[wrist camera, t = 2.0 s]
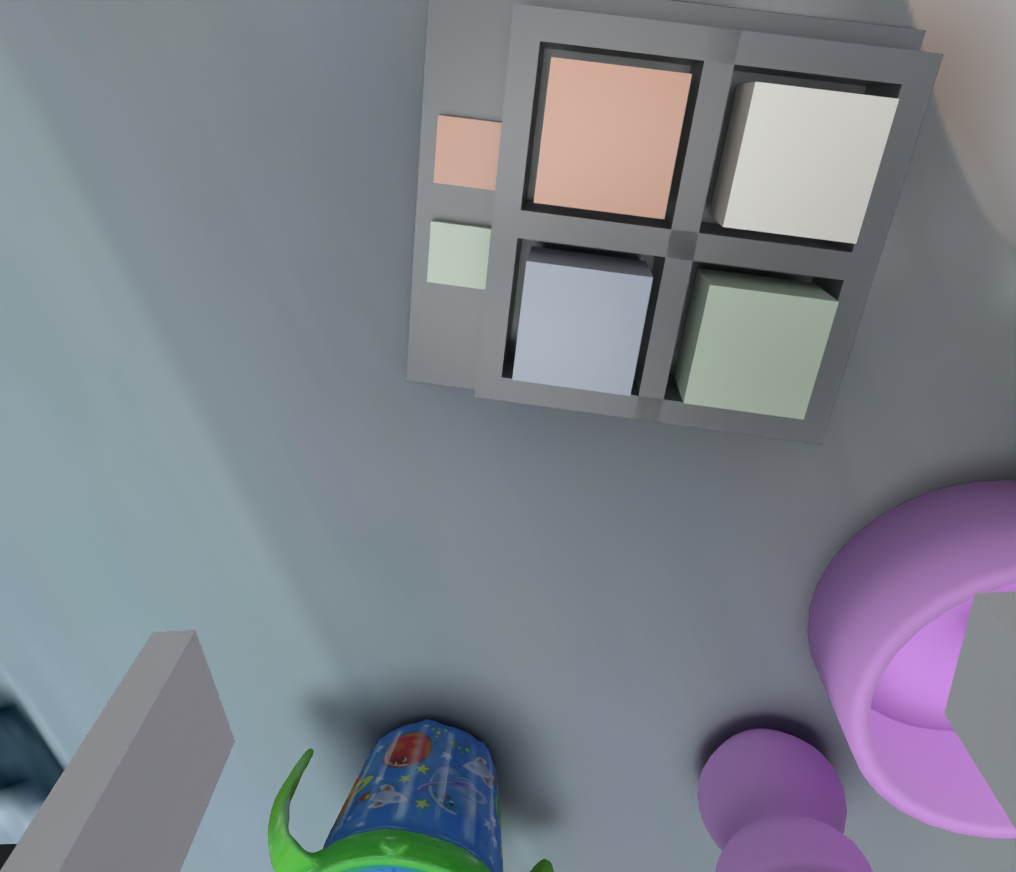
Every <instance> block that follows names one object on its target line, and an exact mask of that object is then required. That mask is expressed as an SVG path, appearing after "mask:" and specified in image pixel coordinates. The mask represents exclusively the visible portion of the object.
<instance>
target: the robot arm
mask: <svg viewBox="0 0 1016 872" xmlns="http://www.w3.org/2000/svg"><path fill="white" fill-rule="evenodd" d="M944 715H945V716H946V718H947V719H948V721H949V723H950V724H951V726H952V728H953V729H954V731H955V732H956V734H957V736H958V737H959V739H960V740H961V742H962V744H963V745H964V747H965V749H966V750H967V752H968V753H969V755H970V757H971V758H972V760H973V761H974V763H975V765H976V766H977V768H978V770H979V771H980V773H981V774H982V776H983V778H984V779H985V781H986V782H987V784H988V786H989V787H990V789H991V791H992V792H993V794H994V795H995V797H996V799H997V800H998V802H999V803H1000V805H1001V807H1002V808H1003V810H1004V812H1005V813H1006V815H1007V816H1008V818H1009V820H1010V821H1011V823H1012V824H1013V826H1014V828H1015V829H1016V591H1011V592H990V593H975V595H974V599H973V603H972V607H971V610H970V614H969V618H968V622H967V626H966V630H965V634H964V638H963V642H962V646H961V650H960V653H959V657H958V661H957V665H956V669H955V673H954V677H953V681H952V685H951V689H950V692H949V696H948V700H947V704H946V708H945V712H944ZM234 742H235V740H234V737H233V734H232V731H231V729H230V726H229V723H228V720H227V717H226V715H225V712H224V709H223V706H222V703H221V701H220V698H219V695H218V692H217V689H216V686H215V684H214V681H213V678H212V675H211V672H210V670H209V667H208V664H207V661H206V658H205V656H204V653H203V650H202V647H201V644H200V642H199V639H198V636H197V633H196V630H189V631H167V632H153V633H152V634H151V636H150V637H149V639H148V641H147V642H146V644H145V645H144V647H143V648H142V650H141V651H140V653H139V655H138V656H137V658H136V659H135V661H134V662H133V664H132V666H131V667H130V669H129V670H128V672H127V673H126V675H125V676H124V678H123V680H122V681H121V683H120V684H119V686H118V687H117V689H116V691H115V692H114V694H113V695H112V697H111V698H110V700H109V701H108V703H107V705H106V706H105V708H104V709H103V711H102V712H101V714H100V716H99V717H98V719H97V720H96V722H95V723H94V725H93V726H92V728H91V730H90V731H89V733H88V734H87V736H86V737H85V739H84V741H83V742H82V744H81V745H80V747H79V748H78V750H77V751H76V753H75V755H74V756H73V758H72V759H71V761H70V762H69V764H68V766H67V767H66V769H65V770H64V772H63V773H62V775H61V776H60V778H59V780H58V781H57V783H56V784H55V786H54V787H53V789H52V791H51V792H50V794H49V795H48V797H47V798H46V800H45V801H44V803H43V805H42V806H41V808H40V809H39V811H38V812H37V814H36V816H35V817H34V819H33V820H32V822H31V823H30V825H29V826H28V828H27V830H26V831H25V833H24V834H23V836H22V837H21V839H20V840H19V842H18V844H0V872H180V870H181V867H182V865H183V862H184V860H185V858H186V855H187V853H188V851H189V848H190V846H191V844H192V841H193V839H194V836H195V834H196V832H197V829H198V827H199V825H200V822H201V820H202V817H203V815H204V813H205V810H206V808H207V806H208V803H209V801H210V799H211V796H212V794H213V791H214V789H215V787H216V784H217V782H218V780H219V777H220V775H221V773H222V770H223V768H224V765H225V763H226V761H227V758H228V756H229V754H230V751H231V749H232V747H233V744H234Z"/></svg>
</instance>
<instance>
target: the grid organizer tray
mask: <svg viewBox="0 0 1016 872" xmlns="http://www.w3.org/2000/svg"><path fill="white" fill-rule="evenodd" d="M924 35H925V30H918V29H910V28H901V27H893V26H884V25H875V24H867V23H858V22H850V21H841V20H833V19H824V18H816V17H807V16H798V15H790V14H781V13H773V12H764V11H756V10H747V9H739V8H730V7H722V6H713V5H704V4H696V3H687V2H679V1H670V0H428V17H427V34H426V51H425V68H424V85H423V102H422V119H421V136H420V153H419V170H418V187H417V204H416V220H415V237H414V254H413V271H412V288H411V305H410V322H409V339H408V356H407V373H406V380H407V381H414V382H421V383H429V384H436V385H443V386H451V387H458V388H465V389H472V390H475V397H477V398H485V399H492V400H499V401H507V402H514V403H521V404H528V405H536V406H543V407H550V408H557V409H565V410H572V411H579V412H586V413H594V414H601V415H608V416H615V417H623V418H630V419H637V420H645V421H652V422H659V423H666V424H674V425H681V426H688V427H695V428H703V429H710V430H717V431H724V432H732V433H739V434H746V435H754V436H761V437H768V438H775V439H783V440H790V441H797V442H804V443H812V444H819V445H821V444H822V441H823V437H824V434H825V431H826V428H827V425H828V421H829V418H830V415H831V412H832V409H833V405H834V402H835V399H836V396H837V393H838V389H839V386H840V383H841V380H842V377H843V374H844V370H845V367H846V364H847V361H848V358H849V354H850V351H851V348H852V345H853V342H854V338H855V335H856V332H857V329H858V326H859V322H860V319H861V316H862V313H863V310H864V306H865V303H866V300H867V297H868V294H869V290H870V287H871V284H872V281H873V278H874V275H875V271H876V268H877V265H878V262H879V259H880V255H881V252H882V249H883V246H884V243H885V239H886V236H887V233H888V230H889V227H890V223H891V220H892V217H893V214H894V211H895V207H896V204H897V201H898V198H899V195H900V191H901V188H902V185H903V182H904V179H905V176H906V172H907V169H908V166H909V163H910V160H911V156H912V153H913V150H914V147H915V144H916V140H917V137H918V134H919V131H920V128H921V124H922V121H923V118H924V115H925V112H926V108H927V105H928V102H929V99H930V96H931V92H932V89H933V86H934V83H935V80H936V76H937V73H938V70H939V67H940V64H941V61H942V57H943V54H938V53H929V52H921V51H920V48H921V45H922V41H923V38H924ZM551 57H556V58H564V59H572V60H581V61H589V62H597V63H606V64H614V65H622V66H630V67H639V68H647V69H655V70H664V71H672V72H680V73H689V74H692V77H691V83H690V88H689V93H688V98H687V104H686V109H685V114H684V119H683V124H682V130H681V135H680V140H679V145H678V150H677V156H676V161H675V166H674V171H673V177H672V182H671V187H670V192H669V197H668V203H667V208H666V213H665V218H664V219H657V218H649V217H641V216H634V215H626V214H618V213H610V212H602V211H594V210H587V209H579V208H571V207H563V206H555V205H547V204H540V203H534V195H535V186H536V178H537V170H538V162H539V153H540V145H541V137H542V128H543V120H544V112H545V104H546V95H547V87H548V79H549V71H550V62H551ZM748 82H763V83H772V84H780V85H788V86H797V87H805V88H813V89H822V90H830V91H838V92H846V93H855V94H863V95H871V96H880V97H888V98H896V99H899V102H898V105H897V108H896V112H895V115H894V119H893V122H892V125H891V129H890V132H889V135H888V139H887V142H886V145H885V149H884V152H883V155H882V159H881V162H880V166H879V169H878V172H877V176H876V179H875V182H874V186H873V189H872V192H871V196H870V199H869V202H868V206H867V209H866V212H865V216H864V219H863V223H862V226H861V229H860V233H859V236H858V239H857V243H856V244H853V243H845V242H837V241H829V240H822V239H814V238H806V237H798V236H790V235H782V234H775V233H767V232H759V231H751V230H743V229H735V228H728V227H722V226H721V225H720V224H719V223H718V222H717V221H716V220H714V219H713V218H712V217H711V216H710V215H709V214H710V210H711V205H712V200H713V196H714V191H715V186H716V182H717V177H718V172H719V168H720V163H721V159H722V154H723V149H724V145H725V140H726V135H727V131H728V126H729V121H730V117H731V112H732V107H733V103H734V98H735V94H736V89H737V84H740V83H748ZM532 246H533V247H540V248H548V249H556V250H564V251H571V252H579V253H587V254H594V255H602V256H610V257H617V258H625V259H633V260H641V261H647V264H648V266H649V269H650V271H651V274H652V276H653V281H652V286H651V291H650V296H649V302H648V307H647V312H646V317H645V323H644V328H643V333H642V338H641V343H640V349H639V354H638V359H637V364H636V369H635V375H634V380H633V385H632V390H631V396H627V395H619V394H612V393H605V392H597V391H590V390H583V389H575V388H568V387H561V386H553V385H546V384H539V383H531V382H524V381H517V380H512V377H513V368H514V360H515V352H516V344H517V335H518V327H519V319H520V310H521V302H522V294H523V286H524V277H525V269H526V261H527V258H528V255H529V252H530V250H531V247H532ZM698 268H702V269H710V270H718V271H725V272H733V273H741V274H748V275H756V276H764V277H771V278H779V279H787V280H795V281H802V282H810V283H815V284H816V285H818V286H819V287H820V288H822V289H823V290H824V291H826V292H827V293H828V294H829V295H831V296H832V297H833V298H835V299H836V300H837V301H838V302H839V303H838V306H837V310H836V313H835V316H834V320H833V323H832V327H831V330H830V333H829V337H828V340H827V343H826V347H825V350H824V353H823V357H822V360H821V363H820V367H819V370H818V374H817V377H816V380H815V384H814V387H813V390H812V394H811V397H810V400H809V404H808V407H807V410H806V414H805V417H804V420H802V419H795V418H788V417H780V416H773V415H766V414H758V413H751V412H744V411H736V410H729V409H722V408H714V407H707V406H700V405H692V404H685V403H683V401H682V398H681V395H680V392H679V389H678V386H677V383H676V380H675V372H676V368H677V363H678V358H679V354H680V349H681V344H682V340H683V335H684V330H685V326H686V321H687V316H688V312H689V307H690V303H691V298H692V293H693V289H694V284H695V279H696V275H697V270H698Z"/></svg>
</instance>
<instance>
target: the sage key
mask: <svg viewBox="0 0 1016 872" xmlns="http://www.w3.org/2000/svg"><path fill="white" fill-rule="evenodd" d="M838 303H839V302H838V301H837V300H836V299H835V298H833V297H832V296H831V295H829V294H828V293H827V292H826V291H824V290H823V289H822V288H820V287H819V286H818V285H816V284H815V283H810V282H802V281H795V280H787V279H779V278H771V277H764V276H756V275H748V274H741V273H733V272H725V271H718V270H710V269H702V268H698V270H697V275H696V279H695V284H694V289H693V293H692V298H691V303H690V307H689V312H688V316H687V321H686V326H685V330H684V335H683V340H682V344H681V349H680V354H679V358H678V363H677V368H676V372H675V380H676V383H677V386H678V389H679V392H680V395H681V398H682V401H683V403H685V404H692V405H700V406H707V407H714V408H722V409H729V410H736V411H744V412H751V413H758V414H766V415H773V416H780V417H788V418H795V419H802V420H804V417H805V414H806V410H807V407H808V404H809V400H810V397H811V394H812V390H813V387H814V384H815V380H816V377H817V374H818V370H819V367H820V363H821V360H822V357H823V353H824V350H825V347H826V343H827V340H828V337H829V333H830V330H831V327H832V323H833V320H834V316H835V313H836V310H837V306H838Z"/></svg>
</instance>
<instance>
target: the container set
mask: <svg viewBox="0 0 1016 872" xmlns="http://www.w3.org/2000/svg"><path fill="white" fill-rule="evenodd" d="M1011 591H1016V481H1014V480H1006V481H977V482H972V483H966V484H961V485H956V486H951V487H946V488H941V489H938V490H936V491H933V492H930V493H927V494H924V495H922V496H919V497H916V498H913V499H910V500H908V501H906V502H904V503H903V504H901V505H899V506H897V507H895V508H893V509H891V510H890V511H888V512H886V513H884V514H882V515H880V516H879V517H877V518H876V519H875V520H873V521H872V522H871V523H870V524H868V525H867V526H866V527H864V528H863V529H862V530H861V531H859V532H858V533H857V534H855V535H854V536H853V537H852V538H851V539H850V540H849V541H848V542H847V544H846V545H845V546H844V547H843V548H842V549H841V550H840V551H839V552H838V553H837V555H836V556H835V557H834V558H833V559H832V561H831V562H830V564H829V566H828V567H827V569H826V571H825V572H824V574H823V576H822V577H821V579H820V581H819V582H818V585H817V587H816V590H815V593H814V596H813V599H812V602H811V605H810V609H809V620H808V638H809V644H810V650H811V655H812V658H813V660H814V663H815V665H816V667H817V670H818V672H819V675H820V677H821V679H822V682H823V684H824V687H825V689H826V691H827V694H828V696H829V699H830V701H831V703H832V706H833V708H834V711H835V713H836V715H837V718H838V720H839V723H840V725H841V727H842V730H843V732H844V734H845V737H846V739H847V742H848V744H849V746H850V749H851V751H852V753H853V756H854V758H855V760H856V762H857V765H858V767H859V769H860V771H861V773H862V774H863V776H864V777H865V778H866V779H867V781H868V782H869V783H870V784H871V786H872V787H873V788H874V789H875V791H876V792H877V793H878V794H879V795H881V796H882V797H883V798H884V799H886V800H887V801H888V802H889V803H891V804H892V805H893V806H894V807H896V808H897V809H898V810H900V811H902V812H904V813H906V814H907V815H909V816H911V817H913V818H915V819H917V820H919V821H921V822H923V823H925V824H928V825H931V826H934V827H938V828H941V829H944V830H947V831H950V832H954V833H958V834H964V835H971V836H977V837H984V838H1001V839H1016V829H1015V828H1014V826H1013V824H1012V823H1011V821H1010V820H1009V818H1008V816H1007V815H1006V813H1005V812H1004V810H1003V808H1002V807H1001V805H1000V803H999V802H998V800H997V799H996V797H995V795H994V794H993V792H992V791H991V789H990V787H989V786H988V784H987V782H986V781H985V779H984V778H983V776H982V774H981V773H980V771H979V770H978V768H977V766H976V765H975V763H974V761H973V760H972V758H971V757H970V755H969V753H968V752H967V750H966V749H965V747H964V745H963V744H962V742H961V740H960V739H959V737H958V736H957V734H956V732H955V731H954V729H953V728H952V726H951V724H950V723H949V721H948V719H947V718H946V716H945V715H944V712H945V708H946V704H947V700H948V696H949V692H950V689H951V685H952V681H953V677H954V673H955V669H956V665H957V661H958V657H959V653H960V650H961V646H962V642H963V638H964V634H965V630H966V626H967V622H968V618H969V614H970V610H971V607H972V603H973V599H974V595H975V593H990V592H1011ZM698 802H699V808H700V812H701V816H702V819H703V821H704V824H705V826H706V828H707V830H708V832H709V834H710V835H711V837H712V838H713V840H714V841H715V843H716V844H717V846H718V847H719V848H720V849H721V850H722V851H723V852H722V853H721V855H720V857H719V860H718V863H717V866H716V872H873V871H872V869H871V867H870V865H869V863H868V861H867V860H866V858H865V857H864V855H863V854H862V852H861V851H860V850H859V848H858V847H857V846H856V845H855V844H854V842H853V841H851V840H850V839H849V838H847V837H846V836H845V835H843V833H844V829H845V821H846V813H847V808H846V801H845V795H844V789H843V786H842V784H841V782H840V779H839V777H838V775H837V773H836V771H835V769H834V768H833V766H832V765H831V764H830V763H829V762H828V760H827V759H826V758H825V757H824V755H823V754H822V753H821V752H819V751H818V750H817V749H816V748H814V747H813V746H811V745H810V744H808V743H807V742H805V741H803V740H801V739H799V738H797V737H795V736H792V735H789V734H786V733H784V732H781V731H778V730H773V729H751V730H746V731H743V732H740V733H738V734H736V735H734V736H732V737H730V738H729V739H727V740H726V741H725V742H724V743H723V744H722V745H721V746H720V747H719V748H718V749H717V750H716V751H715V752H714V753H713V754H712V755H711V756H710V758H709V759H708V761H707V763H706V764H705V766H704V768H703V769H702V772H701V776H700V779H699V785H698Z"/></svg>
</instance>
